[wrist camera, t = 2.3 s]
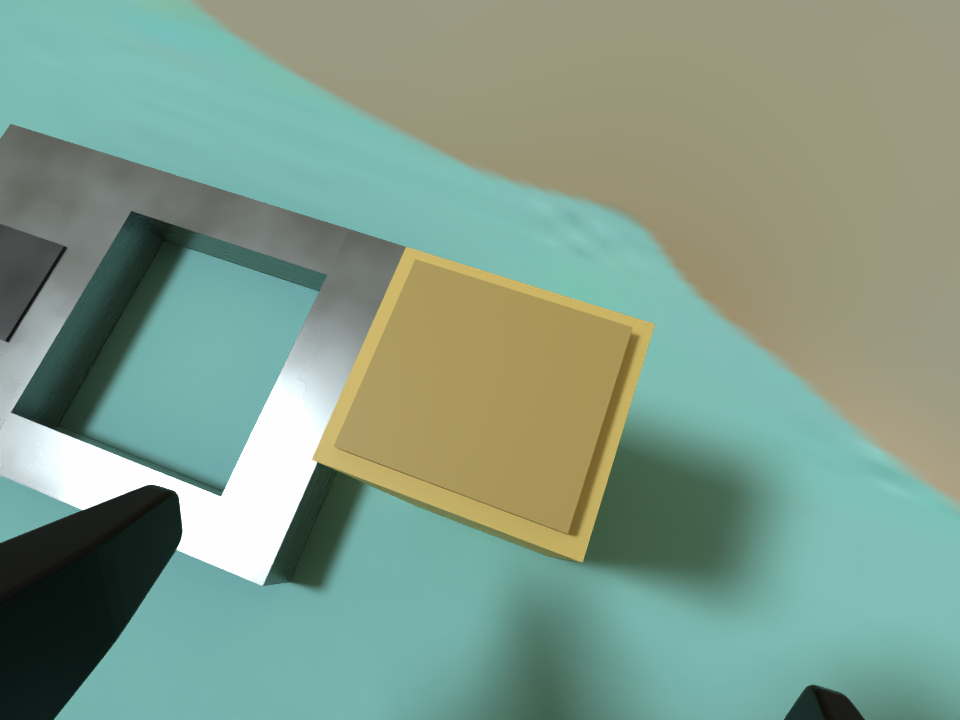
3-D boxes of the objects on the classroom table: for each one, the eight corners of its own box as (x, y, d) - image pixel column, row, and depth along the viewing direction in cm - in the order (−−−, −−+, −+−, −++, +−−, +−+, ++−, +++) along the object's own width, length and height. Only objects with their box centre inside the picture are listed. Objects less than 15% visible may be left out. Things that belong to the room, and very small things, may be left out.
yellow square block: (547, 555, 18) (584, 563, 9) (413, 504, 19) (305, 456, 9) (586, 434, 20) (659, 317, 10) (457, 389, 20) (402, 238, 10)
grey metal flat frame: (288, 582, 19) (261, 586, 17) (-117, 412, 21) (-183, 398, 19) (420, 275, 22) (410, 247, 20) (50, 158, 24) (8, 122, 22)
